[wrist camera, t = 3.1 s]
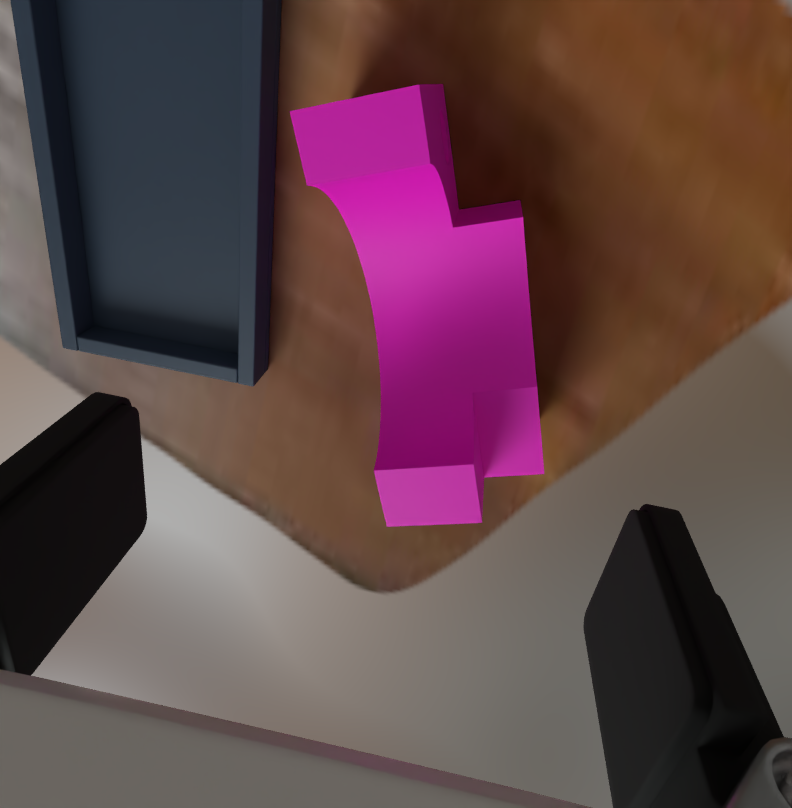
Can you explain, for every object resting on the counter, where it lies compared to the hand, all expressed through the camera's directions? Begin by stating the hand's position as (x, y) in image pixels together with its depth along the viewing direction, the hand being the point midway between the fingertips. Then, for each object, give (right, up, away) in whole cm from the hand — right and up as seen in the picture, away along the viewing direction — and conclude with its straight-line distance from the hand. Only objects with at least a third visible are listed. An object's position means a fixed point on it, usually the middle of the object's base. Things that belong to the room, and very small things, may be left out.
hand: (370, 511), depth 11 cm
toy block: (+3, +8, +15) cm, 17 cm away
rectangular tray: (-9, +13, +14) cm, 21 cm away
